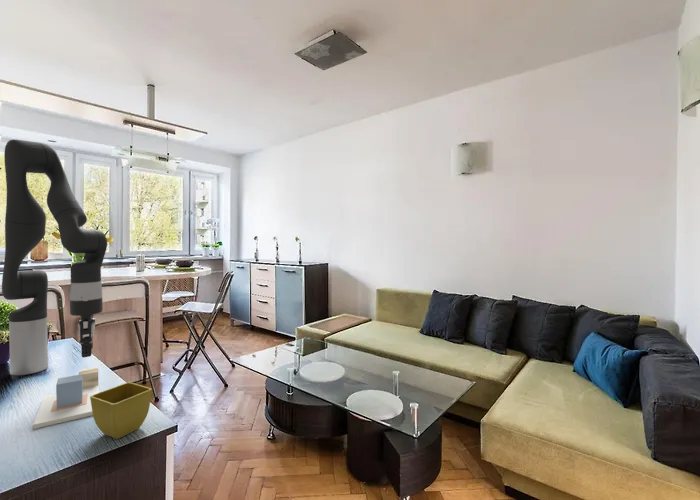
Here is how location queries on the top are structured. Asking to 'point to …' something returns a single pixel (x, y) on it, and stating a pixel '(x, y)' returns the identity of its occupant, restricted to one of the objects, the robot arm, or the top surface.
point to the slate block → (69, 391)
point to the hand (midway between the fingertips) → (87, 352)
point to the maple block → (89, 377)
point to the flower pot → (121, 409)
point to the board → (64, 409)
